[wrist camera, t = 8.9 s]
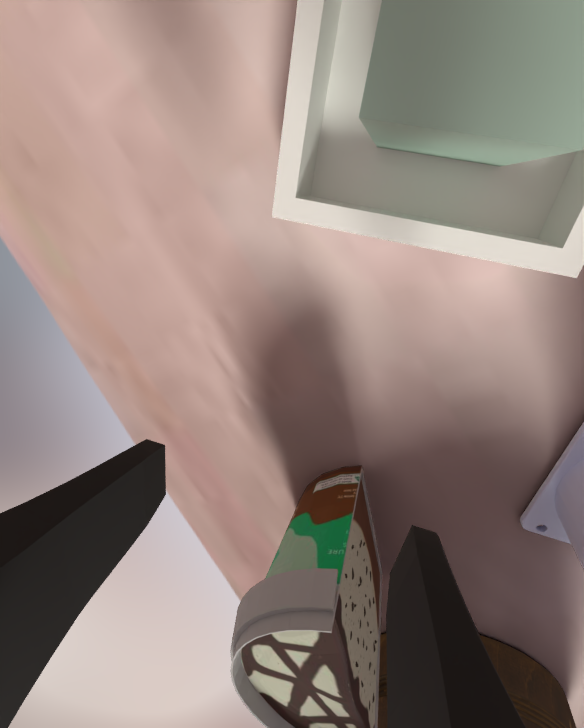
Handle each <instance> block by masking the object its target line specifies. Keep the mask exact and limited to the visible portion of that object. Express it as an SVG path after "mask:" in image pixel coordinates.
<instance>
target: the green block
mask: <svg viewBox="0 0 584 728" xmlns="http://www.w3.org/2000/svg"><path fill="white" fill-rule="evenodd" d="M359 119H360V120H361V122H362V124H363V125H364V127H365V128H366V130H367V132H368V133H369V135H370V136H371V138H372V140H373V141H374V143H375V144H376V146H377V147H379V148H385V149H392V150H398V151H404V152H411V153H417V154H423V155H430V156H436V157H442V158H449V159H455V160H462V161H468V162H474V163H481V164H487V165H493V166H505V165H510V164H515V163H520V162H525V161H530V160H535V159H540V158H545V157H551V156H556V155H561V154H566V153H571V152H576V151H581V150H583V148H584V0H382V3H381V8H380V13H379V18H378V23H377V28H376V33H375V38H374V43H373V48H372V53H371V58H370V63H369V68H368V73H367V78H366V83H365V88H364V93H363V98H362V103H361V108H360V113H359Z"/></svg>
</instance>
